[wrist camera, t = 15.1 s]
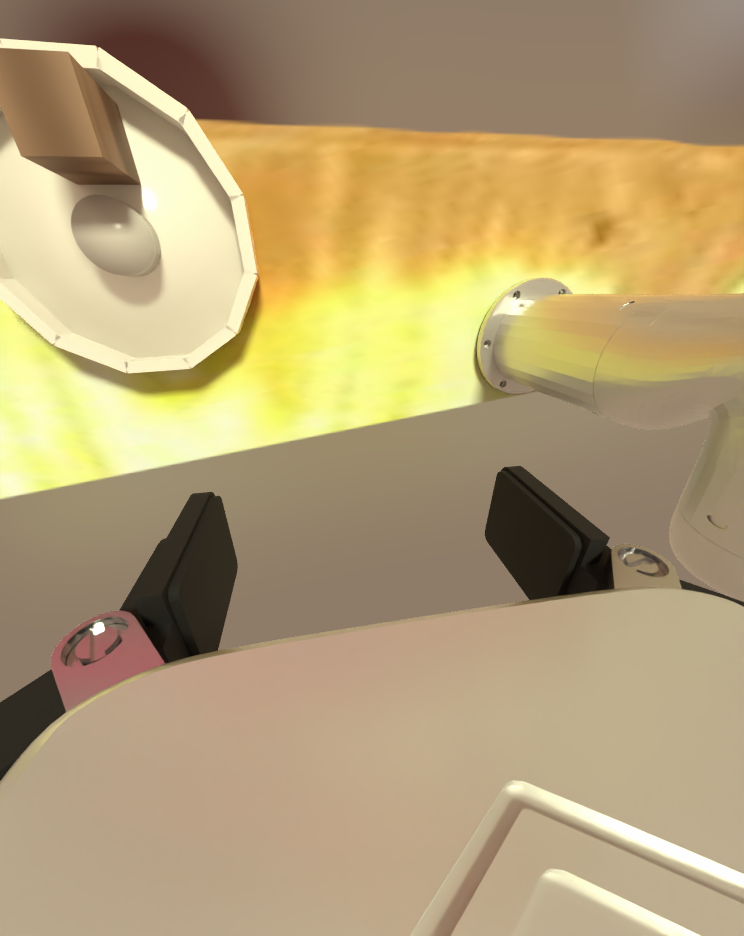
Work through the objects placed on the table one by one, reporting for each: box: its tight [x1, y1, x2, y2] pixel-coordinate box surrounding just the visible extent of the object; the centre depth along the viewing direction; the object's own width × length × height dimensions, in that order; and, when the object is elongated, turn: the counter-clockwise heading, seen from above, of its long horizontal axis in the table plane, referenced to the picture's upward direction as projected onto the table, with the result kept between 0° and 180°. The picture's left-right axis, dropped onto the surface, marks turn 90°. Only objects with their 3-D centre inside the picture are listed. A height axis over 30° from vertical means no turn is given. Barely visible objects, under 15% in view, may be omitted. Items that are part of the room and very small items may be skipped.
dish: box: [0, 39, 259, 373], centre depth 26 cm, size 20×20×4 cm
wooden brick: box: [0, 48, 141, 185], centre depth 22 cm, size 4×4×6 cm
